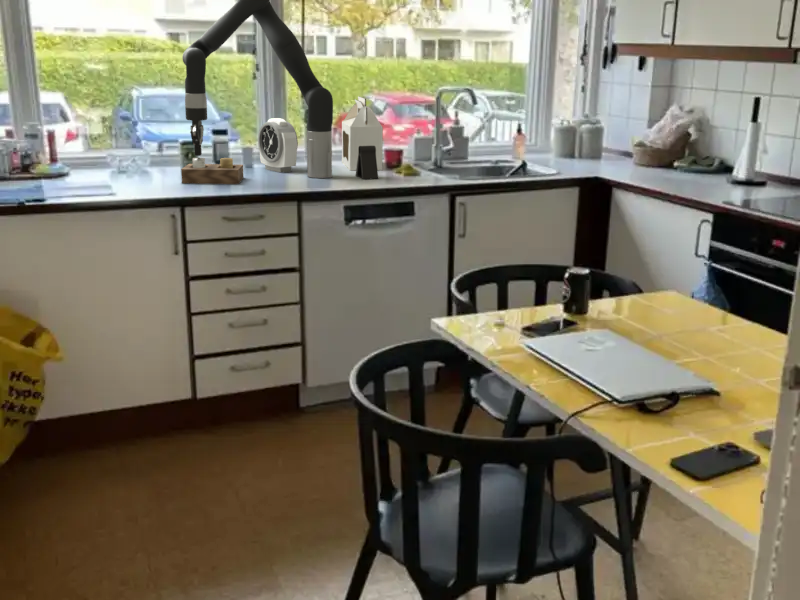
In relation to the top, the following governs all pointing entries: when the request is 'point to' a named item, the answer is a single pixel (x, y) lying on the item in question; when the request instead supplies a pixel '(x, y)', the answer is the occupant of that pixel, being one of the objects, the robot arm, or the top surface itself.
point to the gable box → (360, 134)
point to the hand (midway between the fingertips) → (198, 155)
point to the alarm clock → (278, 145)
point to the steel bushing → (198, 162)
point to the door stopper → (367, 163)
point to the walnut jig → (214, 173)
